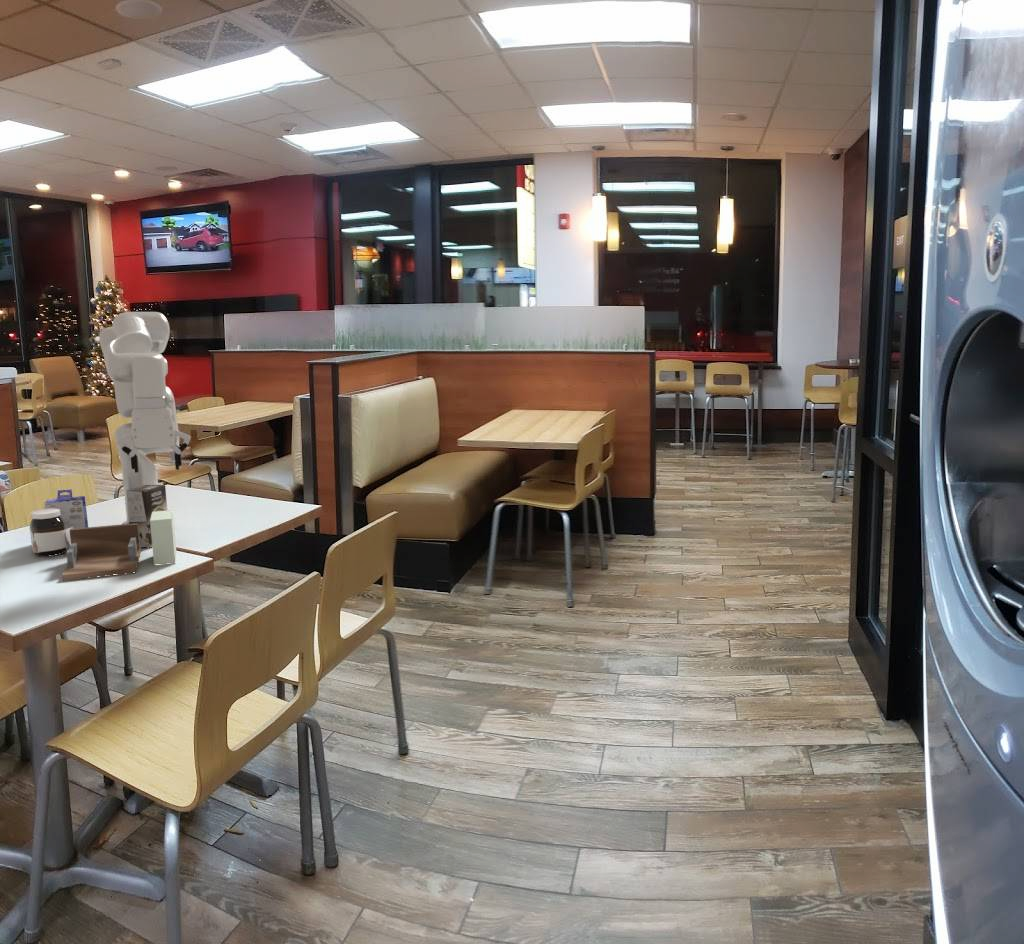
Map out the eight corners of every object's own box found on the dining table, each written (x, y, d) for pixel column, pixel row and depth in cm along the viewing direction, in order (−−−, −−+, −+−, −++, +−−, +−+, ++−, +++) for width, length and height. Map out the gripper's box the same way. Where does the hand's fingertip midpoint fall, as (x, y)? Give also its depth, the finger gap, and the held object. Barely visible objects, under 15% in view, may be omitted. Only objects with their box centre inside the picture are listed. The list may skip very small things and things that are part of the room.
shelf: (74, 560, 211) (70, 528, 209) (140, 553, 216) (137, 523, 215) (63, 580, 194) (59, 547, 193) (135, 573, 200) (132, 540, 198)
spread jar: (29, 552, 219) (24, 510, 216) (74, 543, 226) (69, 503, 224) (42, 561, 210) (36, 518, 208) (88, 552, 218) (84, 510, 216)
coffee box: (151, 548, 221) (145, 491, 218) (130, 547, 222) (124, 490, 219) (171, 539, 230) (166, 484, 227) (151, 538, 231) (146, 483, 228)
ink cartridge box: (90, 536, 234) (84, 487, 231) (88, 541, 229) (82, 491, 226) (51, 539, 230) (45, 490, 228) (48, 544, 225) (42, 494, 223)
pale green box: (156, 555, 215) (152, 511, 213) (176, 553, 217) (172, 510, 214) (154, 566, 206) (149, 520, 203) (175, 563, 207) (171, 518, 205)
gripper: (188, 401, 210) (193, 465, 213) (114, 404, 204) (121, 470, 207) (187, 403, 203) (193, 470, 206) (111, 406, 197) (118, 475, 200)
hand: (157, 470), depth 206 cm, fingers open, 9 cm apart
